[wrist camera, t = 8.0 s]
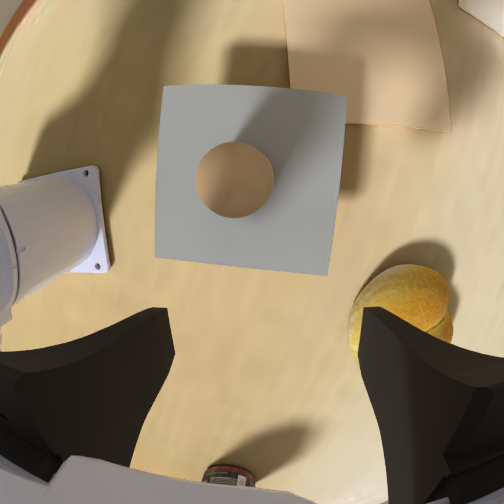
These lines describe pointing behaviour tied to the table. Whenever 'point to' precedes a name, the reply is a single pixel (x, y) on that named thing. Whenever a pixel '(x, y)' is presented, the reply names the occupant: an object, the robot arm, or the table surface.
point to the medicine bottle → (486, 12)
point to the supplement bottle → (228, 476)
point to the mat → (371, 59)
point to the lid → (249, 176)
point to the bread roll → (405, 301)
